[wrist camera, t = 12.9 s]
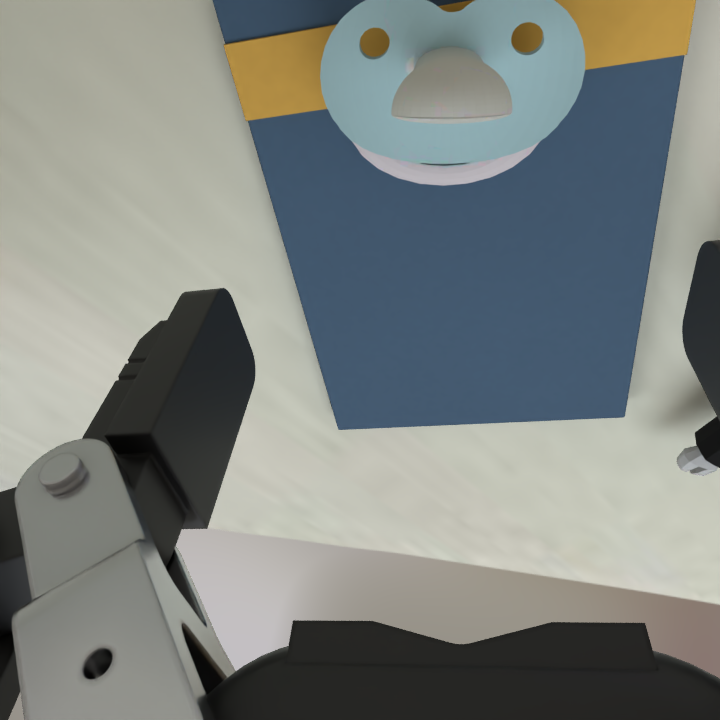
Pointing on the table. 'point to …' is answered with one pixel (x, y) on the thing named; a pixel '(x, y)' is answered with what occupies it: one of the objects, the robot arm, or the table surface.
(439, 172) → the pacifier
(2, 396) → the table surface
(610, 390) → the blue book
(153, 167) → the table surface
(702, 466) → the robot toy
